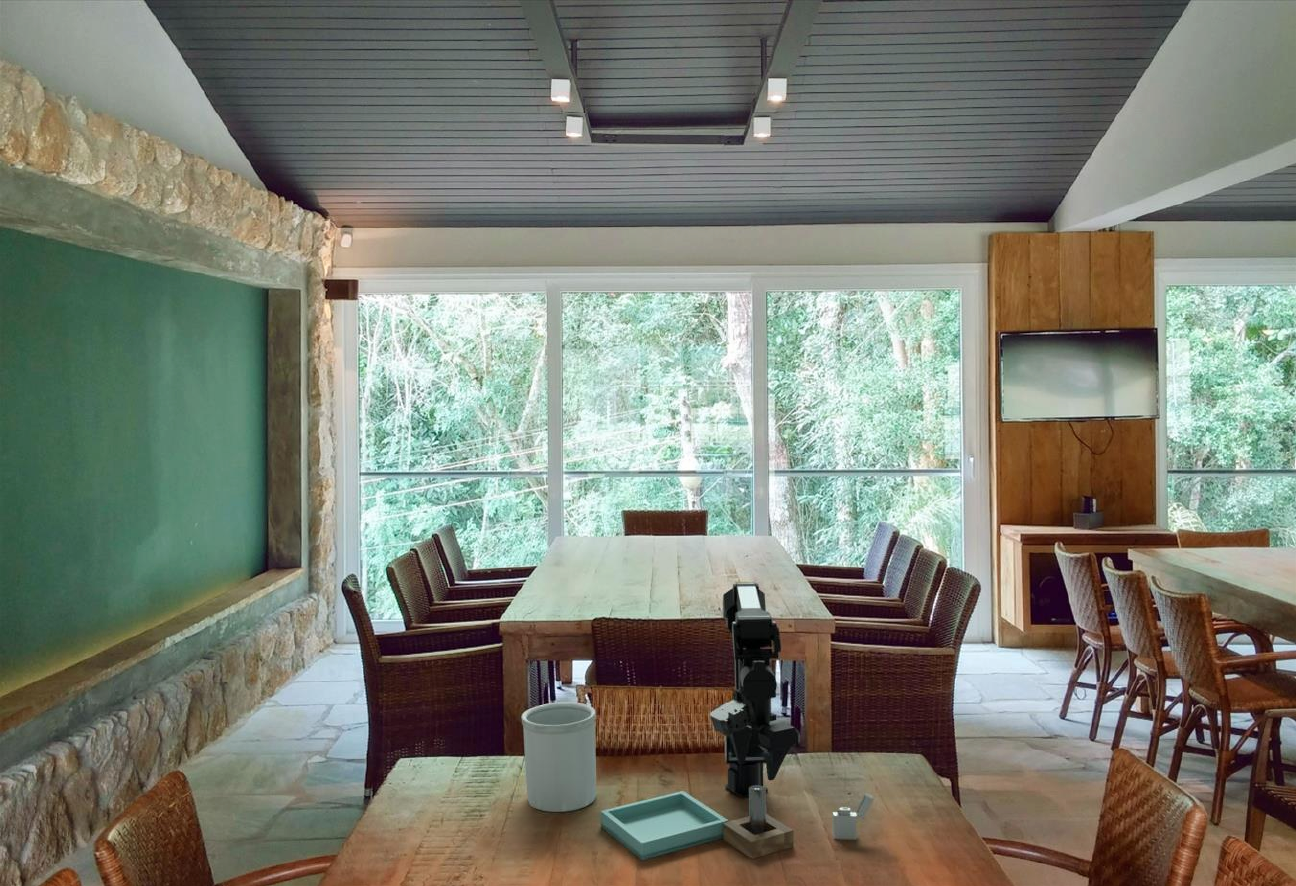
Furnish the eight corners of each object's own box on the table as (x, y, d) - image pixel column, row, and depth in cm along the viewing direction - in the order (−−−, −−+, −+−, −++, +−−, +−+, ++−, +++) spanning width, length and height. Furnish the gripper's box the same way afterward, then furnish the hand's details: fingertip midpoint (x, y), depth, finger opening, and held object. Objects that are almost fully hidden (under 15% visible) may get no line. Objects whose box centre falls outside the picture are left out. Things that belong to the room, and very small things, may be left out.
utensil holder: (510, 808, 201) (507, 720, 200) (545, 780, 214) (543, 698, 213) (577, 818, 195) (575, 728, 194) (609, 789, 209) (607, 705, 208)
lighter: (833, 839, 184) (833, 795, 184) (832, 834, 186) (832, 791, 185) (873, 839, 184) (873, 796, 183) (872, 835, 185) (872, 792, 185)
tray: (683, 805, 200) (682, 790, 200) (728, 836, 186) (728, 820, 186) (600, 826, 191) (600, 810, 191) (642, 860, 177) (641, 843, 177)
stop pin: (760, 838, 185) (759, 784, 185) (769, 844, 182) (769, 789, 182) (746, 841, 184) (745, 787, 183) (756, 848, 181) (755, 793, 180)
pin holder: (763, 828, 189) (763, 812, 189) (793, 846, 181) (793, 830, 181) (723, 839, 185) (723, 823, 185) (751, 858, 177) (751, 842, 177)
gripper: (688, 679, 186) (690, 764, 187) (746, 706, 170) (748, 798, 170) (739, 671, 191) (741, 753, 192) (800, 695, 175) (801, 785, 176)
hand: (756, 771), depth 182 cm, fingers open, 9 cm apart
